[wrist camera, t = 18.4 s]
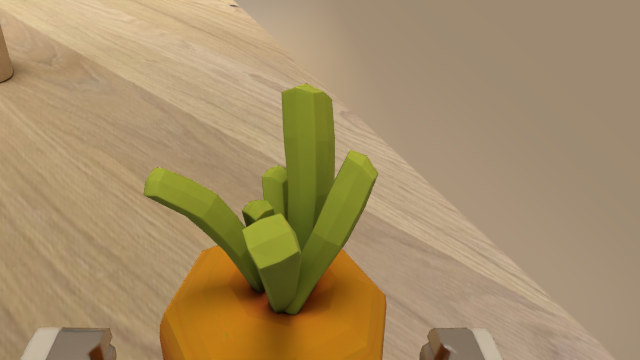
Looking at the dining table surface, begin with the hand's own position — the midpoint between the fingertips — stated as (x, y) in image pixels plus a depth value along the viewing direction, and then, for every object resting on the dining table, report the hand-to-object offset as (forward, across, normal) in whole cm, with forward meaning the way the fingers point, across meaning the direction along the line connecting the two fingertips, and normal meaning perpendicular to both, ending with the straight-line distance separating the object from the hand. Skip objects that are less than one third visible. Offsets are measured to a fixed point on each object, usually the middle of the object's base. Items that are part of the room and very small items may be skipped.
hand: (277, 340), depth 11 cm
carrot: (-1, 0, -8) cm, 8 cm away
